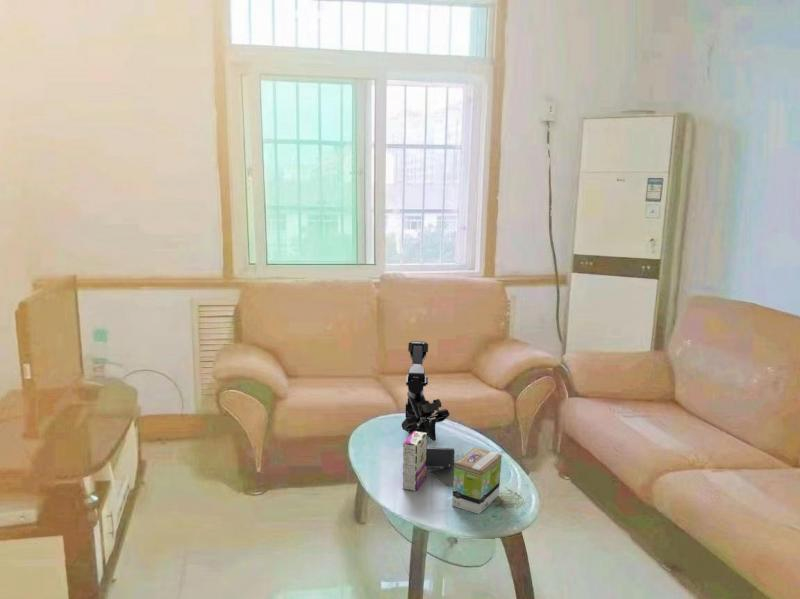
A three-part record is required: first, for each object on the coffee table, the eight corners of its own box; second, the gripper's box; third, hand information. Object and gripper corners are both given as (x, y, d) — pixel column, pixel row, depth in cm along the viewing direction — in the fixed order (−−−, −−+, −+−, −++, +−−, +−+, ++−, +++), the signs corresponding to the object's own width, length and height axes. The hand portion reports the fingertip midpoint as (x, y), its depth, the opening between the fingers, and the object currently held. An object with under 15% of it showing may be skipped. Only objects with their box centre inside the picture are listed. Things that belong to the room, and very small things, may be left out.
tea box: (480, 515, 189) (482, 470, 187) (451, 506, 194) (452, 462, 192) (499, 495, 202) (502, 453, 199) (471, 487, 207) (473, 445, 204)
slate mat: (429, 472, 217) (429, 471, 217) (465, 462, 225) (465, 461, 225) (449, 486, 207) (449, 485, 207) (486, 475, 215) (486, 475, 215)
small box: (454, 447, 223) (452, 449, 212) (454, 466, 222) (452, 468, 211) (425, 446, 224) (422, 447, 214) (425, 464, 223) (421, 467, 213)
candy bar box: (412, 475, 215) (413, 430, 212) (426, 477, 213) (427, 432, 210) (401, 489, 204) (402, 442, 202) (416, 492, 203) (417, 444, 200)
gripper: (406, 397, 224) (422, 436, 217) (447, 388, 234) (464, 426, 227) (394, 410, 232) (409, 449, 226) (435, 401, 242) (451, 438, 235)
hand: (434, 440), depth 228 cm, fingers closed
